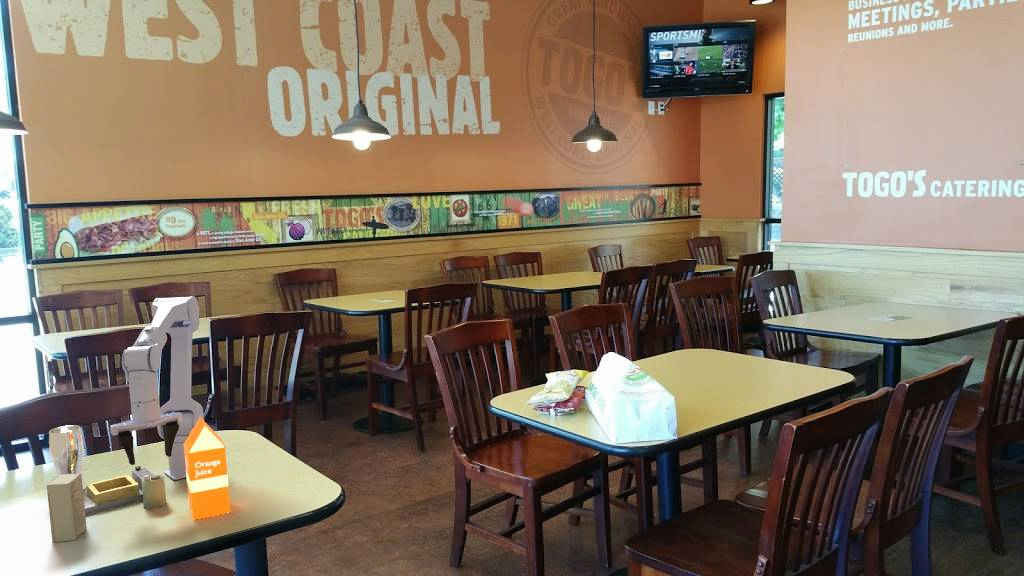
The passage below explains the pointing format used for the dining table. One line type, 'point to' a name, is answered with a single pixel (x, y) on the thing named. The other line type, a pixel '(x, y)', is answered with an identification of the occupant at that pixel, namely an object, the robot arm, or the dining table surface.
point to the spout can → (153, 491)
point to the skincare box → (66, 507)
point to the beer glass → (67, 450)
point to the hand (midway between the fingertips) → (150, 459)
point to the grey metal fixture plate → (114, 491)
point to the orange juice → (206, 472)
